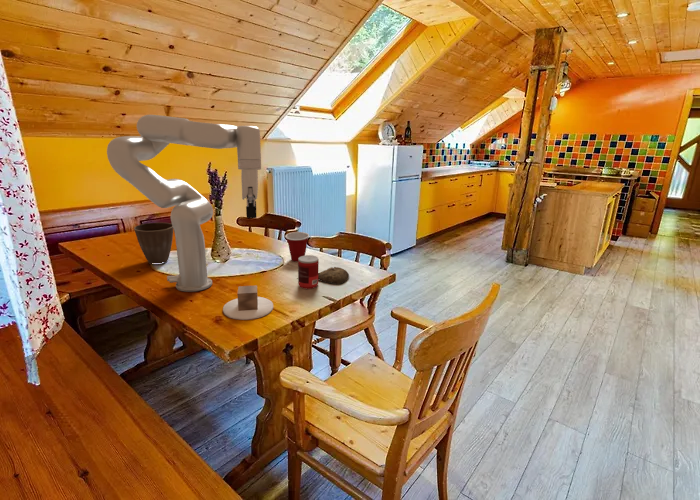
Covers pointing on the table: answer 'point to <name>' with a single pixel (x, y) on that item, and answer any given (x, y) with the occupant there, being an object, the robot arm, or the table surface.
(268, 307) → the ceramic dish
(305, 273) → the canned food
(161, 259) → the plant pot
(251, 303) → the walnut block
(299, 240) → the plastic cup
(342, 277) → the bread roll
